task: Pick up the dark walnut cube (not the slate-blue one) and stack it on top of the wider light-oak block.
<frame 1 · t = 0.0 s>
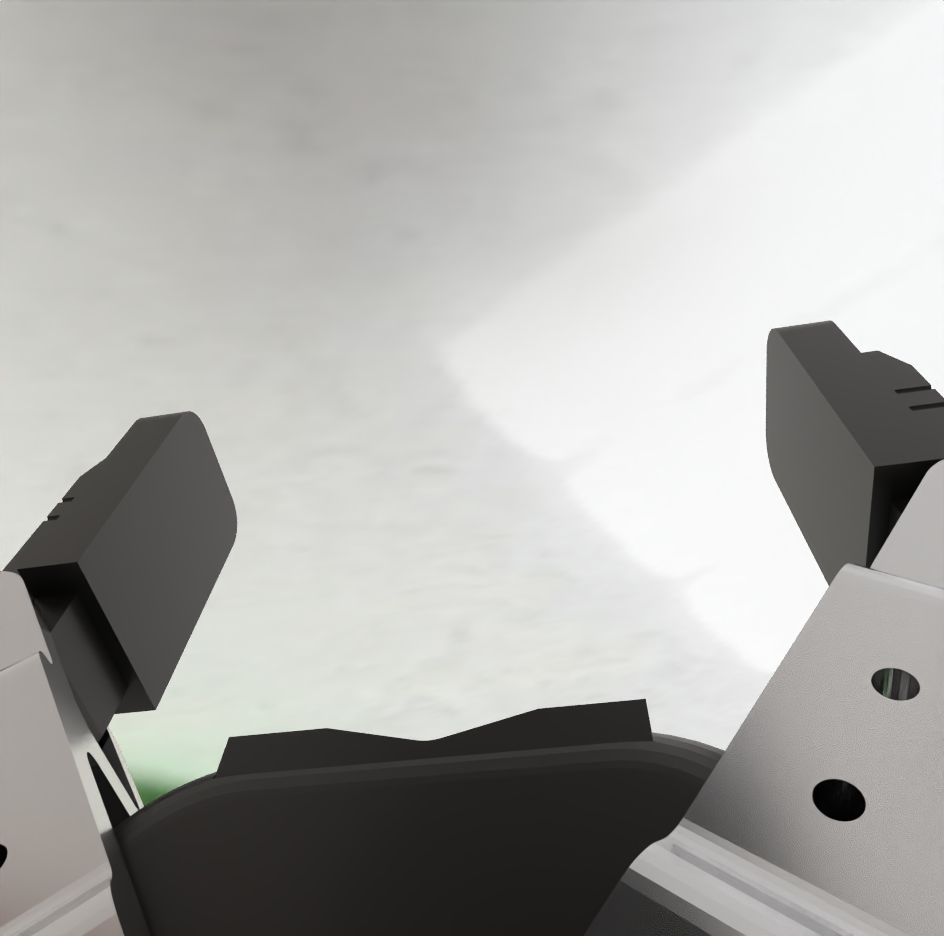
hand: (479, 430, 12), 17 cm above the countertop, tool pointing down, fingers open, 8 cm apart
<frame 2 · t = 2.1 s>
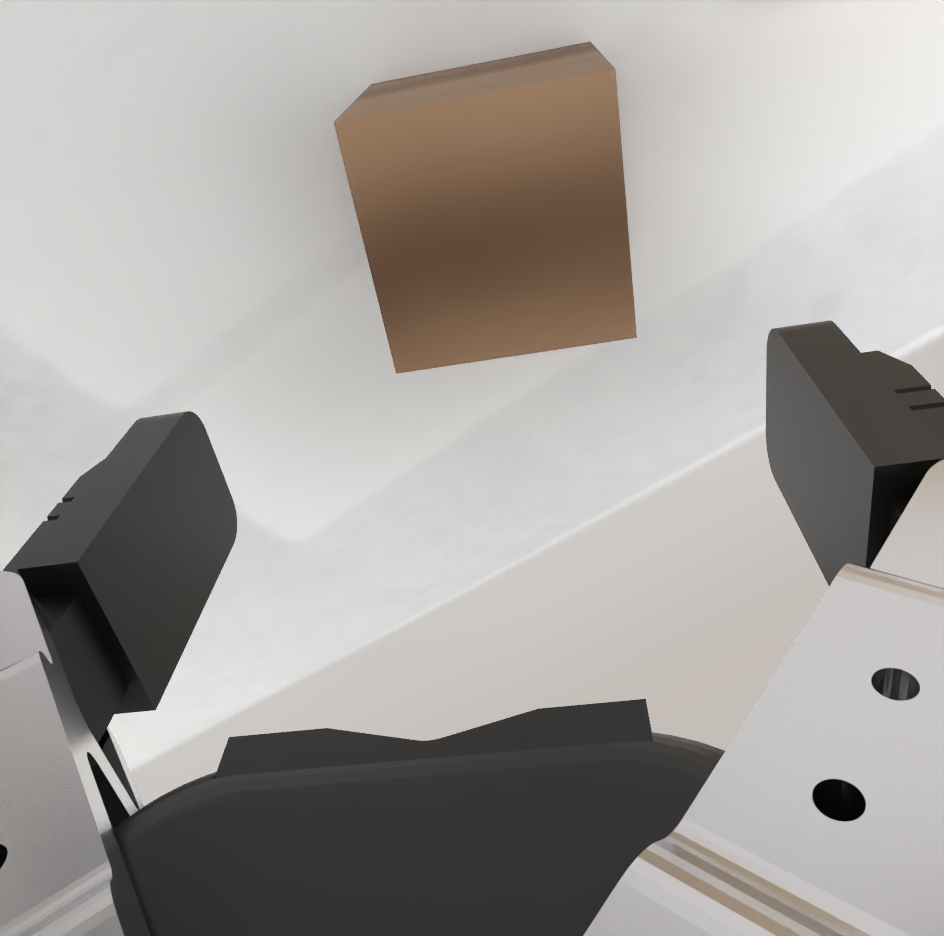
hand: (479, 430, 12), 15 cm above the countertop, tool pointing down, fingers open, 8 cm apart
walnut block: (496, 175, 24), on the countertop
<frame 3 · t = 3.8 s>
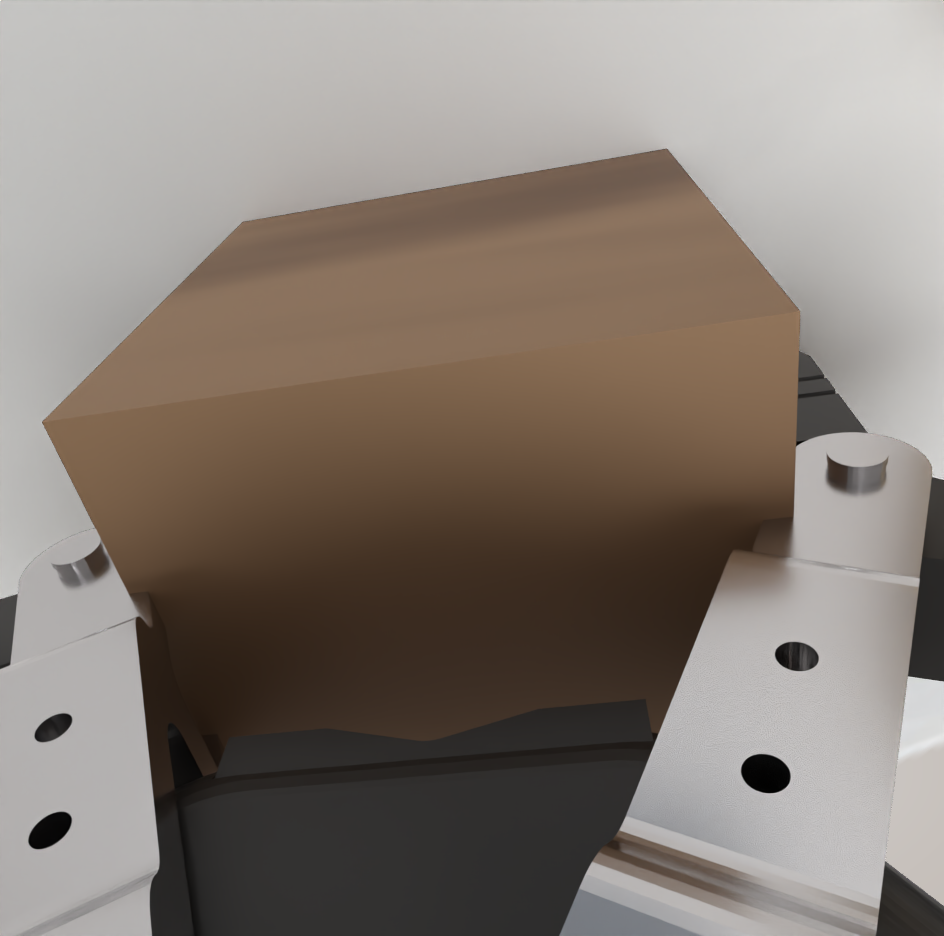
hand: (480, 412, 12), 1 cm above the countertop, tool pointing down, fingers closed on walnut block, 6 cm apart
walnut block: (483, 380, 13), on the countertop, touching gripper
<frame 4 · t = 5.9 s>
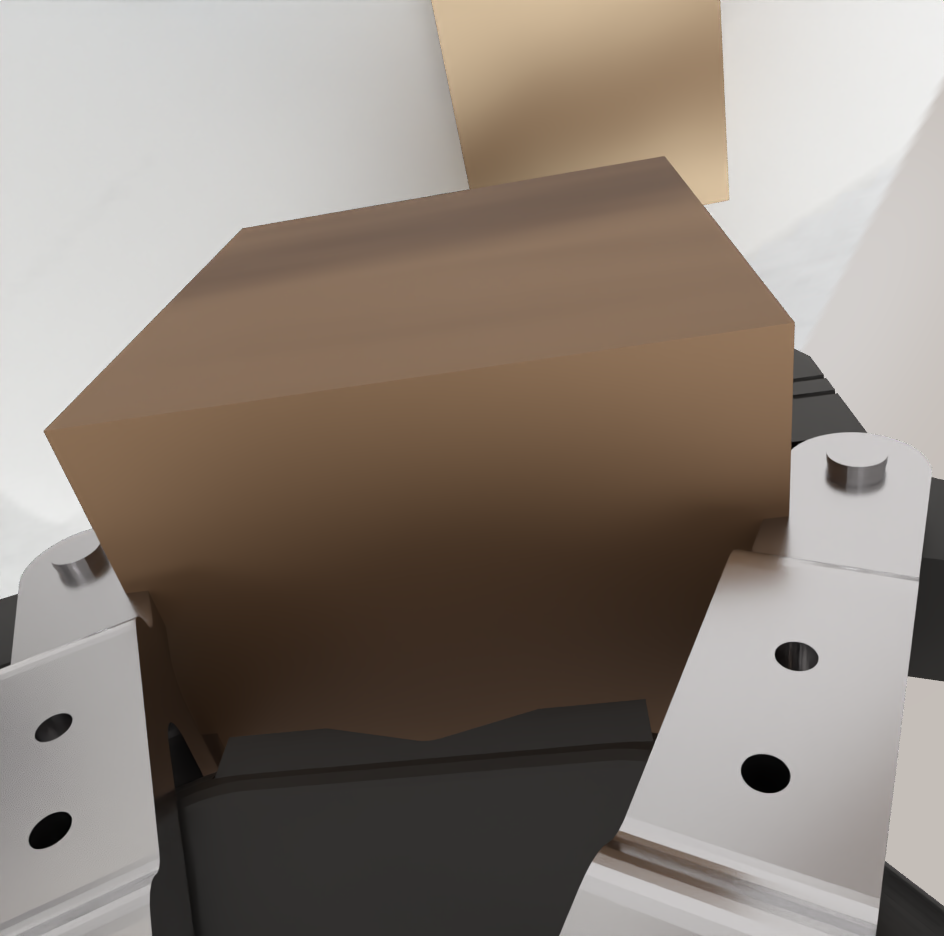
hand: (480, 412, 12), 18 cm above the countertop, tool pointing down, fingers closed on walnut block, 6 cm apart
oak base block: (573, 70, 26), on the countertop
walnut block: (482, 385, 13), point 17 cm above the countertop, touching gripper
when the fingers open (7 cm above the countertop, at t = 8.2 s): walnut block drops 1 cm, resting on oak base block.
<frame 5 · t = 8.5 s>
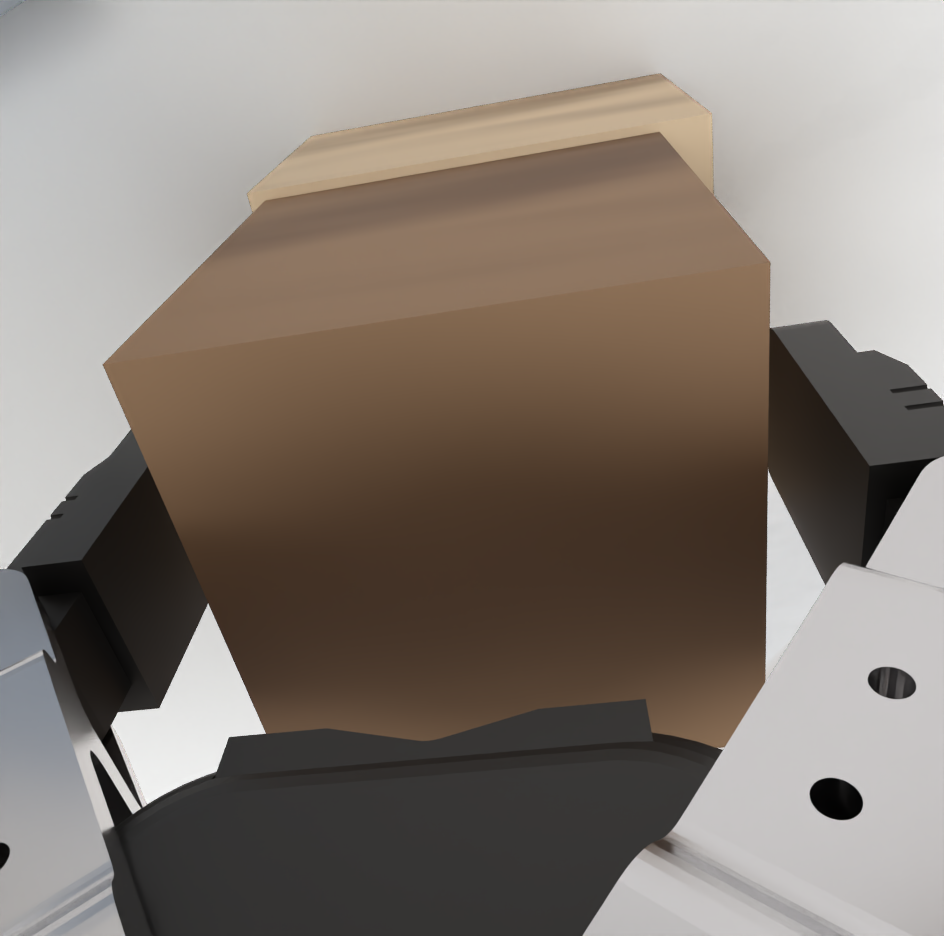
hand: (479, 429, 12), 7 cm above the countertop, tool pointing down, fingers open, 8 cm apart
oak base block: (507, 273, 18), on the countertop, touching walnut block
walnut block: (489, 350, 14), point 5 cm above the countertop, touching oak base block
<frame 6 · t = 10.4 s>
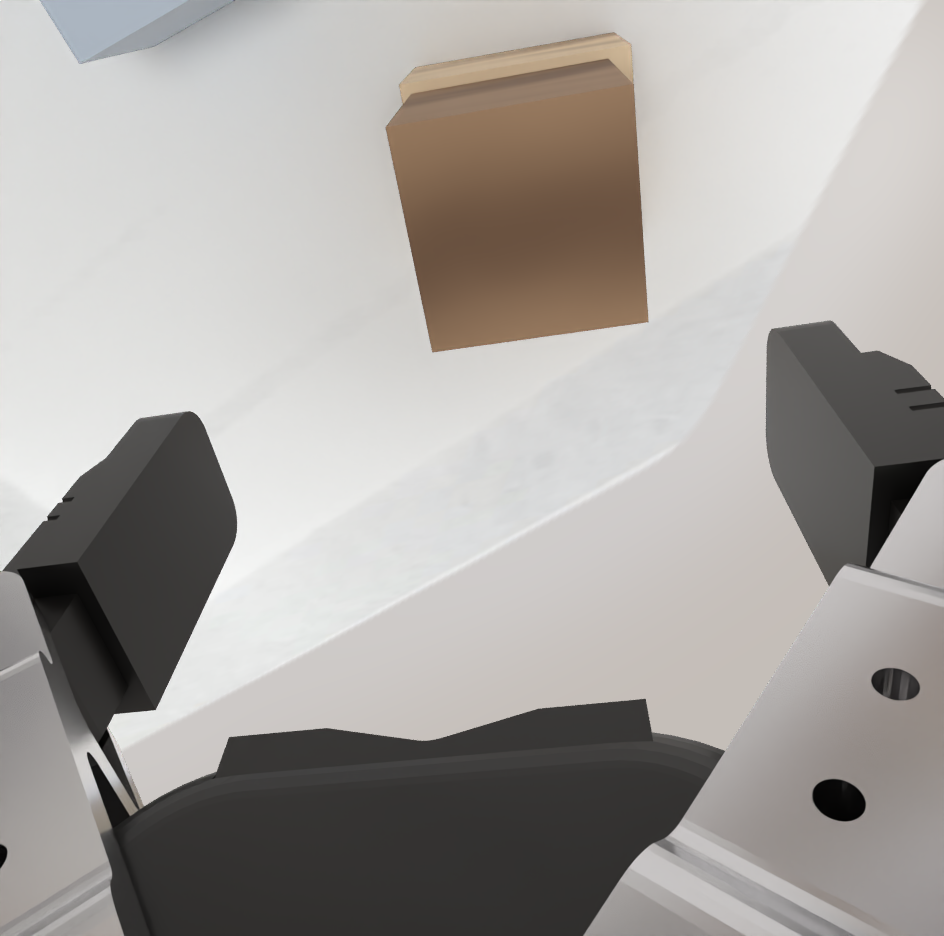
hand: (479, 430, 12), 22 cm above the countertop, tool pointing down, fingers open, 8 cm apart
oak base block: (525, 153, 31), on the countertop
walnut block: (521, 178, 27), point 5 cm above the countertop
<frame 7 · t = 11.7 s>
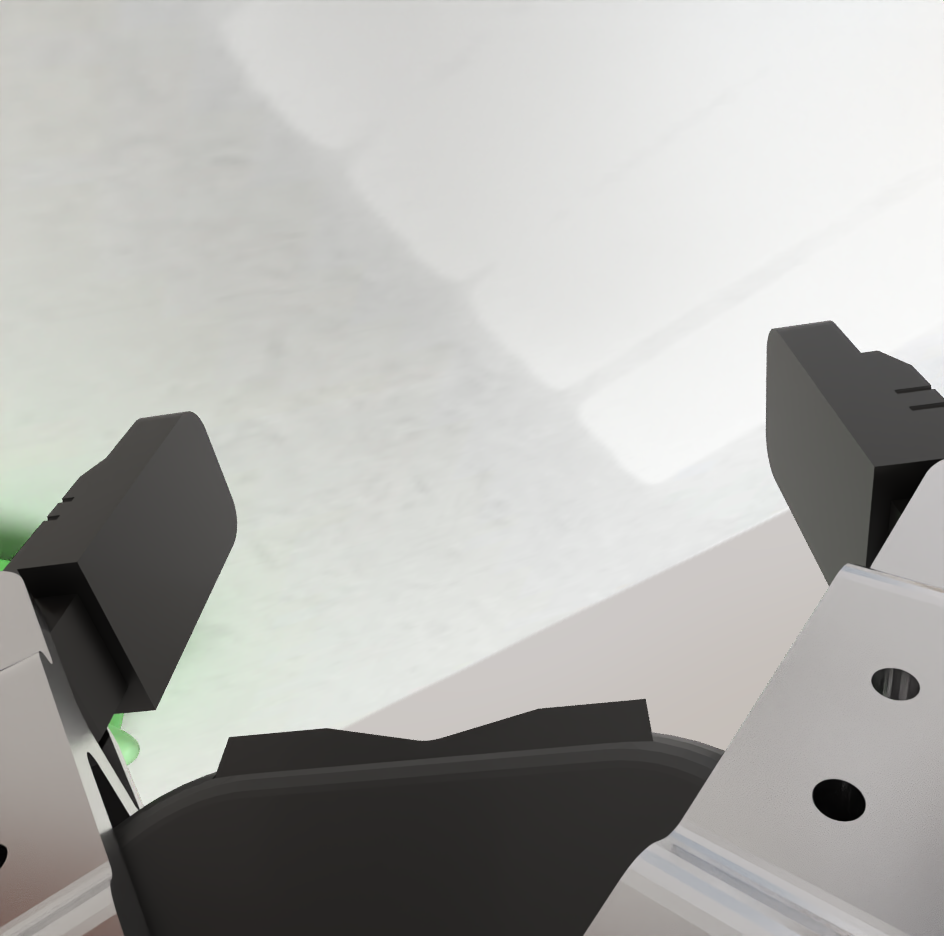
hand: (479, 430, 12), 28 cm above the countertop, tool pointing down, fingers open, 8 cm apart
toy bird: (44, 624, 53), on the countertop
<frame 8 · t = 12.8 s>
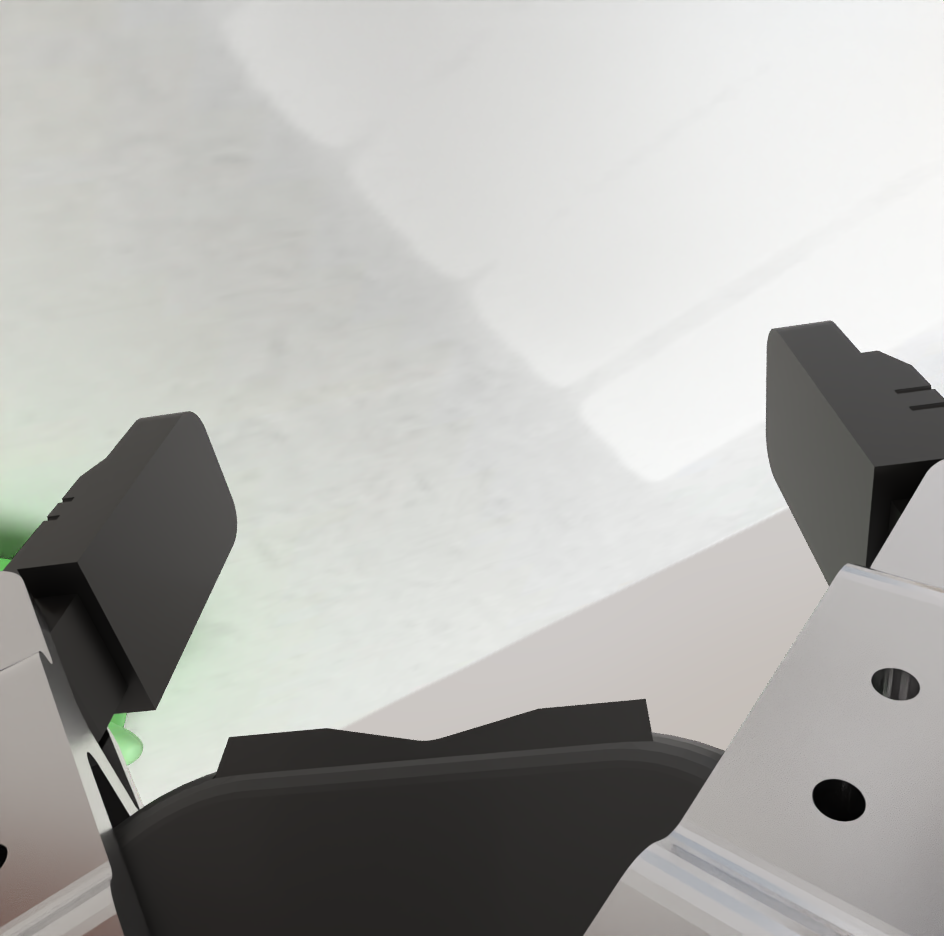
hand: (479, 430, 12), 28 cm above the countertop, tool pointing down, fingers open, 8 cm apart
toy bird: (46, 623, 53), on the countertop
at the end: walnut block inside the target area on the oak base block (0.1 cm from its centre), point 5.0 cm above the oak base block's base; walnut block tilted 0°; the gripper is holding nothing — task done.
